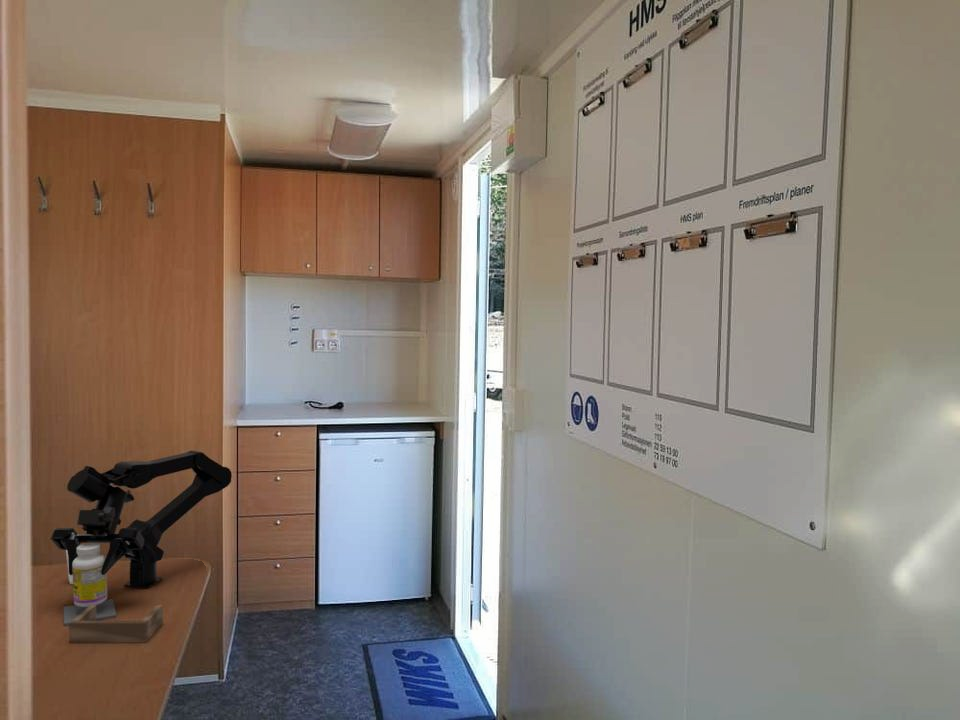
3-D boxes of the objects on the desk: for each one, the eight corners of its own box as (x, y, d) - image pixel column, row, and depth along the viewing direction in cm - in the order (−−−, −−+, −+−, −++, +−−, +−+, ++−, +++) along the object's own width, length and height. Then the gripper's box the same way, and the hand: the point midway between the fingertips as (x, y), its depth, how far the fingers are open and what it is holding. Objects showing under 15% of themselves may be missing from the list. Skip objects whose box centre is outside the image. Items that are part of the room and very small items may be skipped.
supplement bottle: (75, 598, 165) (73, 543, 164) (108, 594, 168) (106, 539, 167) (72, 610, 159) (69, 552, 158) (106, 605, 162) (104, 548, 161)
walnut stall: (90, 623, 158) (90, 605, 158) (162, 623, 159) (162, 605, 159) (69, 642, 149) (69, 623, 149) (145, 642, 150) (145, 623, 150)
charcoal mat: (63, 609, 165) (63, 606, 165) (112, 601, 170) (112, 599, 170) (64, 625, 157) (63, 623, 157) (116, 617, 162) (116, 614, 162)
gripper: (53, 493, 165) (27, 558, 155) (138, 493, 166) (118, 557, 156) (72, 517, 174) (48, 580, 163) (152, 517, 175) (134, 580, 164)
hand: (86, 574), depth 162 cm, fingers closed on supplement bottle, 7 cm apart
